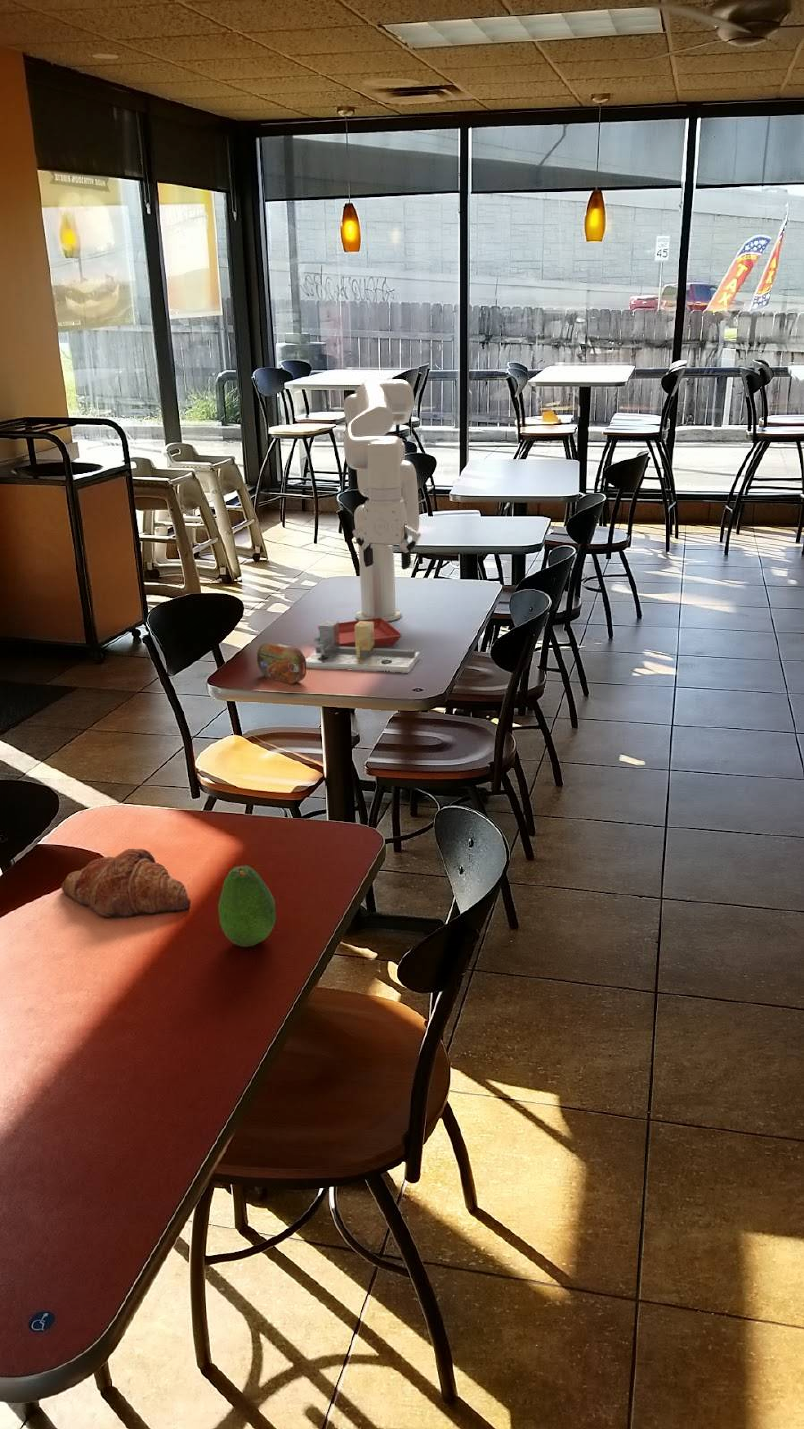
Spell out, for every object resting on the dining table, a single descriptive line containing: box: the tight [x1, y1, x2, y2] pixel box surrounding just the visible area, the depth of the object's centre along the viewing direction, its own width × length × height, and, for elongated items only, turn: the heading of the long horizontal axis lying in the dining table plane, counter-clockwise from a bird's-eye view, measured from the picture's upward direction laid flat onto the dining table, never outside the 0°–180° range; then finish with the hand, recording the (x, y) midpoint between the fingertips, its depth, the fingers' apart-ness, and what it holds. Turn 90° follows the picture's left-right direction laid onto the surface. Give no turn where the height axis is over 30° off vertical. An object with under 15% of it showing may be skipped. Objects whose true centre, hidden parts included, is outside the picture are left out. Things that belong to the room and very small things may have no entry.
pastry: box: [61, 848, 192, 919], centre depth 171 cm, size 17×15×8 cm
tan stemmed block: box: [355, 621, 375, 659], centre depth 278 cm, size 9×4×7 cm, turn 166°
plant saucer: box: [316, 618, 403, 648], centre depth 296 cm, size 18×18×3 cm
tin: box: [256, 642, 307, 685], centre depth 267 cm, size 15×3×8 cm, turn 47°
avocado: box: [217, 864, 277, 948], centre depth 158 cm, size 8×8×12 cm
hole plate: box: [305, 620, 421, 674], centre depth 277 cm, size 12×26×9 cm, turn 76°
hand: (387, 566), depth 273 cm, fingers open, 9 cm apart
